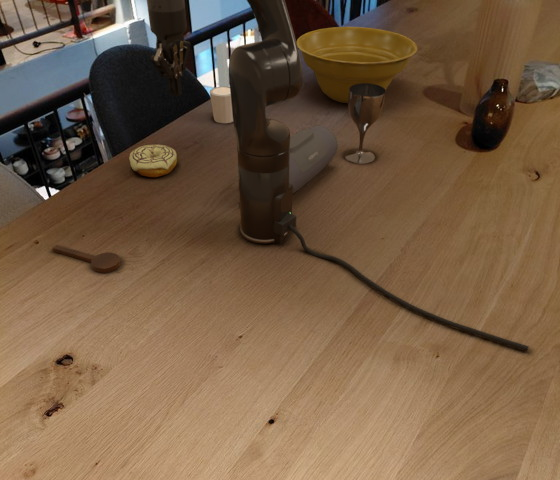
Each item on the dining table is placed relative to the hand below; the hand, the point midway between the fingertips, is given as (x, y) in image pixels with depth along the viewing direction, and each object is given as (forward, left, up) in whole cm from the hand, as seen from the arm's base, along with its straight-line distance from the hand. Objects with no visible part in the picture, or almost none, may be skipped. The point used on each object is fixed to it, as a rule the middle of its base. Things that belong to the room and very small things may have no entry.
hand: (176, 94), depth 127 cm
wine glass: (-40, -14, -13) cm, 44 cm away
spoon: (-7, +47, -13) cm, 49 cm away
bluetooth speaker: (-31, +4, -2) cm, 32 cm away
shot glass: (-1, -20, -13) cm, 24 cm away
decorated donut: (+1, +11, -13) cm, 17 cm away
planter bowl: (-26, -50, -13) cm, 58 cm away
